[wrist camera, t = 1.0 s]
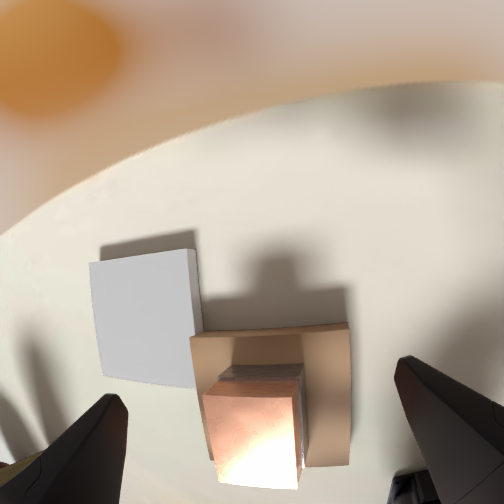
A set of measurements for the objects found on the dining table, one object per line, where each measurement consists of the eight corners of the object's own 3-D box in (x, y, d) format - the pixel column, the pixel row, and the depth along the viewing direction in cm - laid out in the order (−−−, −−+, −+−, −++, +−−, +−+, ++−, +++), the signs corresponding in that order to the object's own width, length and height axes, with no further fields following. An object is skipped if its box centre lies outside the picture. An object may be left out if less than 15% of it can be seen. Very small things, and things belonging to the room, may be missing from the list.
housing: (308, 448, 17) (298, 490, 12) (242, 446, 18) (218, 483, 13) (304, 362, 18) (293, 393, 13) (231, 364, 19) (199, 391, 14)
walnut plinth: (348, 447, 18) (348, 465, 16) (221, 445, 21) (210, 460, 19) (347, 322, 19) (349, 329, 17) (203, 331, 22) (189, 337, 20)
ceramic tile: (210, 383, 22) (203, 389, 20) (113, 372, 25) (103, 375, 23) (195, 249, 23) (186, 248, 21) (99, 263, 26) (89, 263, 24)
